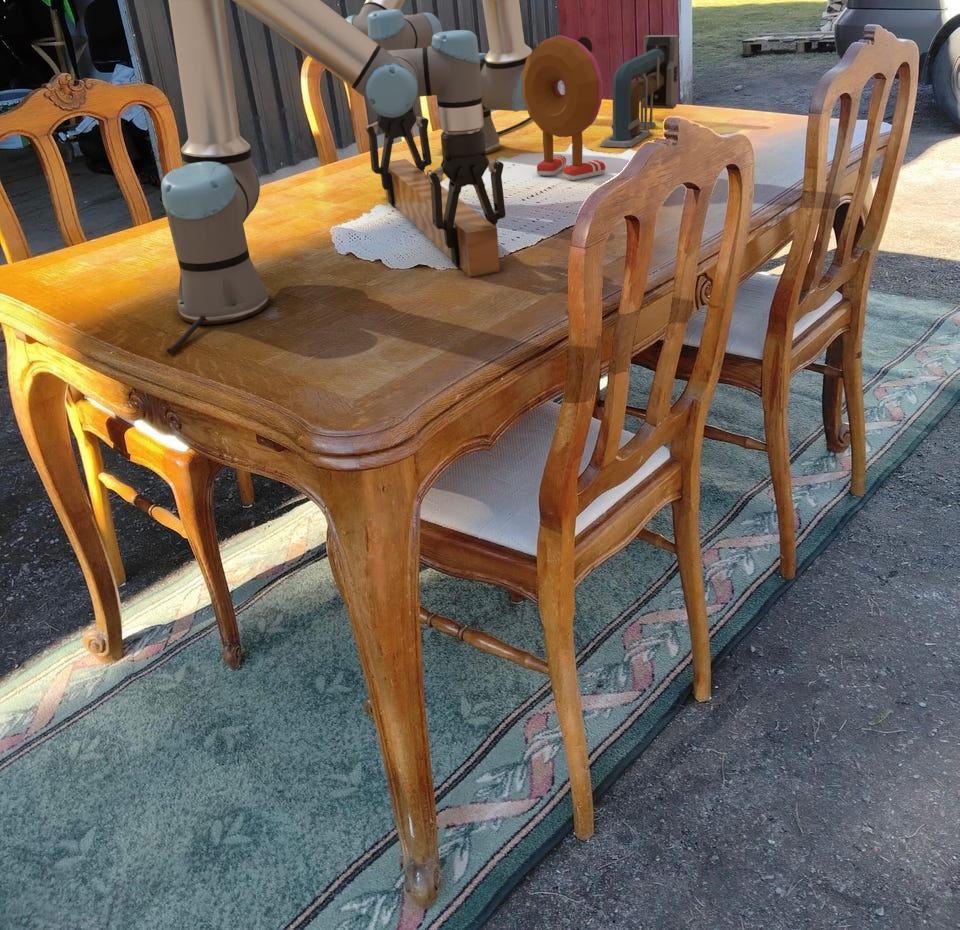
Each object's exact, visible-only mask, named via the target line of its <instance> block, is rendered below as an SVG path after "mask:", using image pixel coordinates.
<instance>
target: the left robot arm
mask: <svg viewBox="0 0 960 930" xmlns="http://www.w3.org/2000/svg"><path fill="white" fill-rule="evenodd" d="M167 1H168V6H169V7H168V9H169V13H170V22H171V28H172V33H173V42H174V48H175V49H174V50H175V55H176V61H177V62H176V63H177V69H178V75H179V83H180V88H181V89H180V90H181V97H182V102H183V109H184V117H185V124H186V131H187V136H188V138H187V140H186V142H185V143H184V144H183V145H182V147H181V148H180V150H181V152H180V153H181V159H182V164H183V165H181V166H179V168H173V169H172V170H170V171H169V172H167V173H166V174H165V175H164V177H163V178H162V180H161V183H160V190H161V200H162V206H163V207H164V210H165V214H166V217H167V221H168V226H169V230H170V234H171V238H172V241H173V247H174V250H175V254H176V258H177V262H178V266H179V283H178V294H177V310H178V314H179V318H180V319H182V320H183V321H184V322H186V323H189V324H192V325H191V326H189V328H187V330H186V331H185V332H184V333H183V334H182V336H180V337H179V339H177V340H176V342H174V343H173V344H172V345H170V346H169V347H168V348H166V352H167V353H168V354H169V355H170V354H172V353H173V352H175V351H176V350H177V349H178V348H180V347H181V346H182V345H183V344H184V343H185V342H186V341H187V340H188V339H189V337H190V336H192V334H193V333H194V332H195V331H196V330H197V329H198V328H199V327H200V326H201V325H202V326H203V325H204V326H205V325H206V326H210V325H222V324H230V323H233V322H239V321H241V320H245V319H248V318H251V317H253V316H256V315H258V314H260V312H263V311H264V310H265V309H266V308H267V307H268V306H269V305H270V296H269V292H268V290H267V287H266V284H265V283H264V282H263V280H262V278H261V276H260V274H259V272H258V270H257V269H256V267H255V265H254V264H253V262H252V260H251V257H250V251H249V246H248V241H247V236H246V232H245V227H244V223H245V221H246V220H247V219H248V218H249V216H250V215H251V213H252V212H253V211H254V209H255V208H256V206H257V204H258V202H259V198H260V193H261V182H260V177H259V173H258V171H257V168H256V167H255V165H254V163H253V157H252V150H251V144H250V143H249V142H247V141H246V139H244V138H243V137H242V136H241V132H240V125H239V116H238V107H237V98H236V91H235V83H234V73H233V66H232V58H231V50H230V49H231V48H230V40H229V32H228V23H227V17H226V16H227V15H226V8H225V0H167ZM232 1H233V2H234V3H235V4H237V5H238V6H239V7H241V8H242V9H243V10H244V11H246V12H248V13H249V14H250V15H252V16H253V17H255V18H256V19H257V20H258V21H260V22H261V23H263V24H264V25H265V26H267V27H268V28H269V29H271V30H272V31H274V32H275V33H276V34H278V35H279V36H280V37H282V38H283V39H285V40H286V41H287V42H289V43H290V44H292V45H293V46H294V47H296V48H297V49H299V50H300V51H301V52H302V53H304V54H305V55H307V56H308V57H309V58H311V59H312V60H313V61H315V62H316V63H317V64H319V65H320V66H322V67H323V68H324V69H326V70H327V71H329V72H330V73H331V74H333V75H335V76H336V77H337V78H338V79H339V80H341V81H342V82H344V83H345V84H346V85H348V86H349V87H350V88H352V89H353V90H355V91H356V93H358V94H359V95H361V96H362V97H363V98H365V99H366V100H367V102H368V103H369V105H370V107H371V108H372V109H373V111H374V112H376V113H377V114H378V113H379V114H380V115H382V116H385V117H391V118H393V117H399V116H401V115H403V114H405V113H406V112H407V111H408V110H409V109H410V108H411V107H412V106H413V107H414V105H415V103H416V102H417V101H416V100H417V98H420V97H432V96H436V98H437V107H438V118H439V119H438V122H439V129H440V130H441V131H442V132H441V134H440V143H441V155H442V160H441V164H440V166H439V167H437V168H435V169H434V170H432V169H429V170H427V172H426V175H427V176H428V179H429V181H430V184H431V201H432V220H433V225H434V226H435V227H436V228H438V229H443V230H444V238H445V245H446V246H447V247H448V248H451V258H452V260H451V263H452V264H453V265H454V266H455V267H459V266H460V256H459V245H458V233H457V230H456V229H455V228H454V227H453V225H454V220H455V215H456V209H457V204H458V199H460V194H461V192H462V187H466V186H468V185H469V186H473V188H474V190H475V193H476V195H477V198H478V201H479V204H480V206H481V210H482V212H483V214H484V218H485V219H486V220H488V221H489V222H490V223H492V224H493V225H494V226H496V227H497V224H498V222H499V220H500V219H505V218H506V207H505V197H504V187H503V177H502V175H503V171H504V162H502V161H500V160H499V159H494V160H493V159H489V157H488V156H487V154H486V149H485V135H484V131H483V129H481V128H482V127H483V125H484V119H483V108H482V93H481V75H480V60H479V53H480V52H479V44H478V37H477V35H476V34H475V33H474V32H473V31H471V30H467V29H457V30H447V31H442V32H439V33H436V34H434V35H433V37H432V43H431V46H429V47H426V48H417V49H402V50H387V51H386V50H385V49H383V48H382V47H380V46H379V45H378V44H377V43H376V42H374V41H373V40H372V39H370V38H369V37H368V36H366V35H365V34H364V33H362V32H361V31H360V30H358V29H357V28H356V27H354V26H353V25H352V24H351V23H349V22H348V21H347V20H345V19H346V18H344V17H343V16H341V15H340V14H339V13H338V12H336V11H335V10H334V9H332V8H331V7H329V6H328V5H327V4H325V3H324V2H323V1H322V0H232ZM487 169H488V172H489V173H490V184H491V192H492V200H493V207H492V203H491V201H490V198H489V195H488V192H487V189H486V184H485V182H484V179H483V176H484V174H485V172H486V171H487ZM443 175H445V176H446V177H447V178H448V179H449V182H448V191H449V192H448V197H447V203H446V208H445V214H444V219H443V213H442V192H441V186H442V184H441V182H442V181H443Z"/></svg>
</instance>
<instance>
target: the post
mask: <svg viewBox="0 0 960 930" xmlns="http://www.w3.org/2000/svg"><path fill="white" fill-rule="evenodd" d="M388 172H389V173H390V174H391V175H392V183H393V191H394V200H395V205H393V207H395V208H396V209H397V210H398V211H399V212H400V213H401V214H402V215H403V217H405V218H406V219H407V220H408V221H410V223H412V225H414V226H415V227H416V228H417V229H418V230H419V231H420V232H421V233H422V234H423V235H425V236H426V238H427V239H428V240H430V241H431V242H432V243H433V244H434V245H435V246H436V247H437V248H439V250H441V252H443V253H444V254H445V255H446V256H447V257H448V258H449V259H450V260H451V261H452V258H451V248H448V247H447V246H446V245H445V238H444V230H443V229H438V228H436V227H435V226H434V225H433V220H432V201H431V184H430V181H429V179H428V176H427V173H425V171H424V172H422V171H421V170H420V169H418V168H417V166H416V165H415V164H413V163H412V162H411V161H409V160H408V159H406V158H404V159H397V160H390V163H389V169H388ZM384 192H385V199H386V200H387V201H388V202H389V200H388V192H387V190H384ZM441 192H442V213H443V219H444V214H445V208H446V203H447V197H448V192H449V189H447V188H445V187H444V186H443V185H441ZM453 227H454V228H455V229H456V230H457V233H458V245H459V256H460V266H458V268H460V269H461V270H462V271H463V272H464V273H465V274H466V275H467V276H468V277H469V278H473V277H479V276H485V275H488V274H494V273H500V272H501V268H500V254H499V235H498V227H497V225H496V226H494V225H493V224H492V223H490V222H489V221H488V220H487V219H486V217H485V216H482V215H481V214H479V212H477V211H476V210H474V209H473V207H470V206H469V205H468V204H466V203H465V202H464V201H463V200H461V199H460V198H459V199H458V204H457V209H456V215H455V220H454V225H453Z"/></svg>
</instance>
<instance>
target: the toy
mask: <svg viewBox="0 0 960 930" xmlns="http://www.w3.org/2000/svg"><path fill="white" fill-rule="evenodd" d="M592 52H593V44H592V41H591V39H589V37H587V36H582V37H580V38H579V39H577V40H576V39H574V38H570V37H568V36H566V35H561V34H558V35H555V36H551V37H549V38H547V39H544V40H543V41H541V42H540V43H539V44H538V45H537V46H536V47H535V48H534V49H533V50H532V53H531V54H530V55H529V56H528V58H527V59H526V63H525V66H524V69H523V73H522V76H521V82H522V98H523V101H524V103H525V106H526V108H527V111H526V112H527V113H528V116H529V117H531V121H533V122H534V124H536V125H537V127H538V128H539V129H540V130H541V131H542V148H543V149H542V150H543V151H542V152H543V159H542V161H540V162H539V163H538V164H537V165H536V174H537V175H538V176H555V175H556V174H557V173H559V172H560V171H561V170H563V177H564V178H565V179H567V180H570V181H578V180H581V179H586V178H591V177H595V176H600V175H603V174H605V173H606V163H605V162H604V161H601V160H597V159H594V160H589V161H584V162H583V147H584V146H583V132H585V130H587V129H588V128H589V127H590V126H592V125H593V124H594V122H595V121H596V119H597V118H598V114H599V111H600V108H601V106H602V101H603V90H604V89H603V87H604V83H603V78H602V74H601V70H600V67H599V65H598V61H597V59H596V58H595V56H594V54H593V53H592ZM560 80H561V81H562V82H563V83H564V86H565V94H564V95H562V94H561V91H560V90H559V83H560ZM554 137H558V138H570V137H571V143H572V145H571V156H572V157H571V159H572V160H571V161H572V164H570V165H567V158H566V156H565V155H560V154H554Z"/></svg>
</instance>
